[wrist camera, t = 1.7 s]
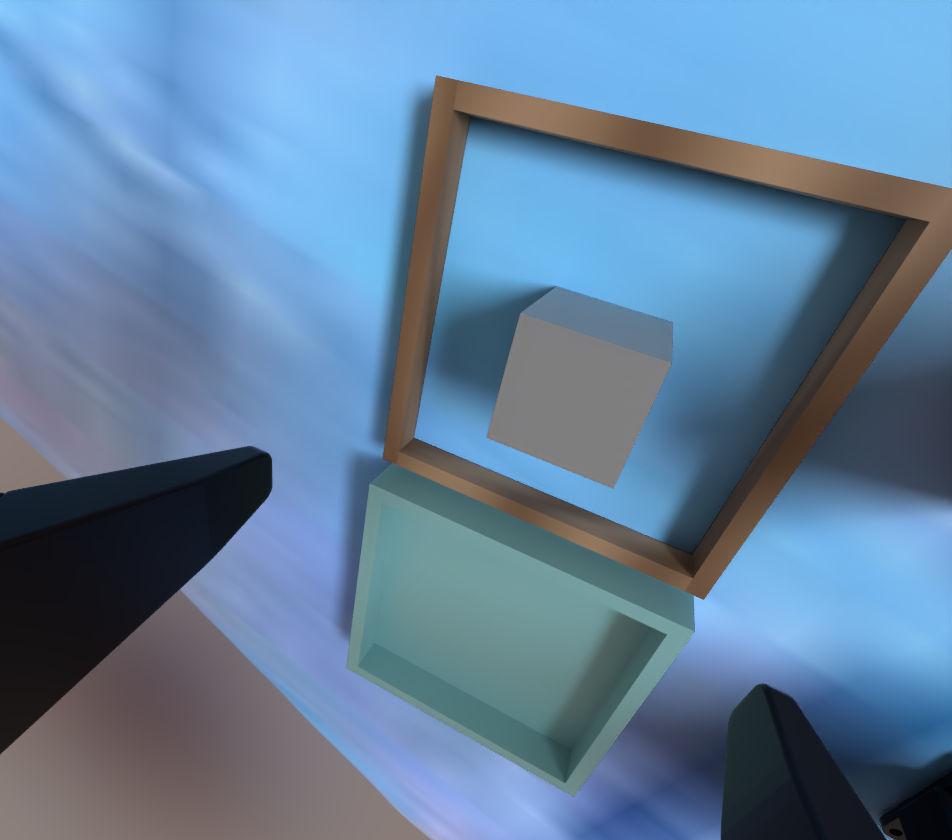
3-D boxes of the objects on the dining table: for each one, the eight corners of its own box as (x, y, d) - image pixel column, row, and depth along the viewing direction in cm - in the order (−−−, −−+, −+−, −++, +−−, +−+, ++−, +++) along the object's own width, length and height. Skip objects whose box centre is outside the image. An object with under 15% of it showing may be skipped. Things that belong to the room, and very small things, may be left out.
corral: (957, 196, 13) (988, 196, 12) (702, 575, 21) (703, 599, 19) (454, 84, 16) (435, 75, 15) (398, 444, 24) (382, 458, 23)
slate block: (673, 321, 17) (672, 362, 13) (627, 425, 19) (613, 488, 15) (556, 285, 18) (520, 312, 14) (526, 387, 20) (486, 437, 16)
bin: (693, 588, 21) (694, 631, 19) (581, 753, 29) (574, 797, 27) (395, 458, 25) (369, 483, 22) (367, 637, 32) (346, 667, 30)
